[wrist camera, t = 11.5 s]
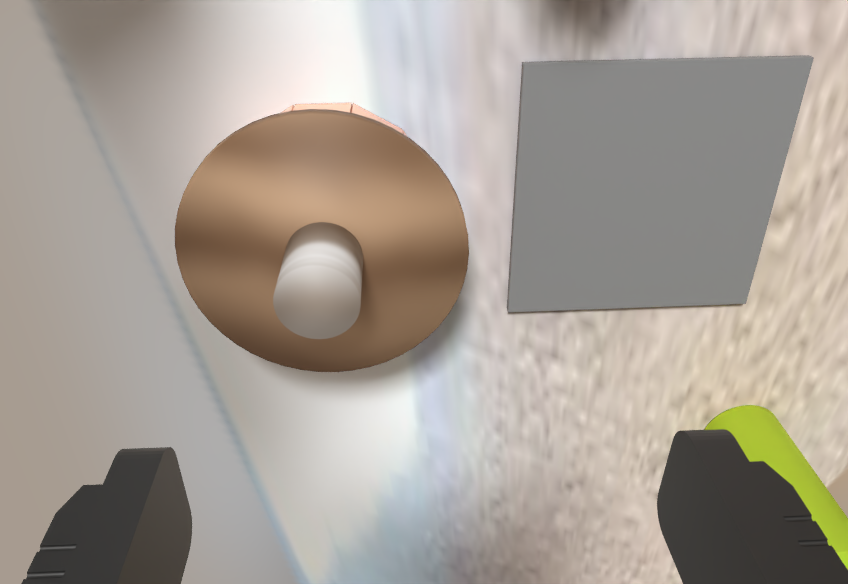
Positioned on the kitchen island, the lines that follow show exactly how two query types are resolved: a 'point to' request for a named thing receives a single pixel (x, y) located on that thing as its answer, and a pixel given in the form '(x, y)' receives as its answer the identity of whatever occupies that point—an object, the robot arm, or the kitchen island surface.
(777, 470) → the soap dispenser
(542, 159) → the mat
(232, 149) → the lid
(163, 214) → the kitchen island surface
